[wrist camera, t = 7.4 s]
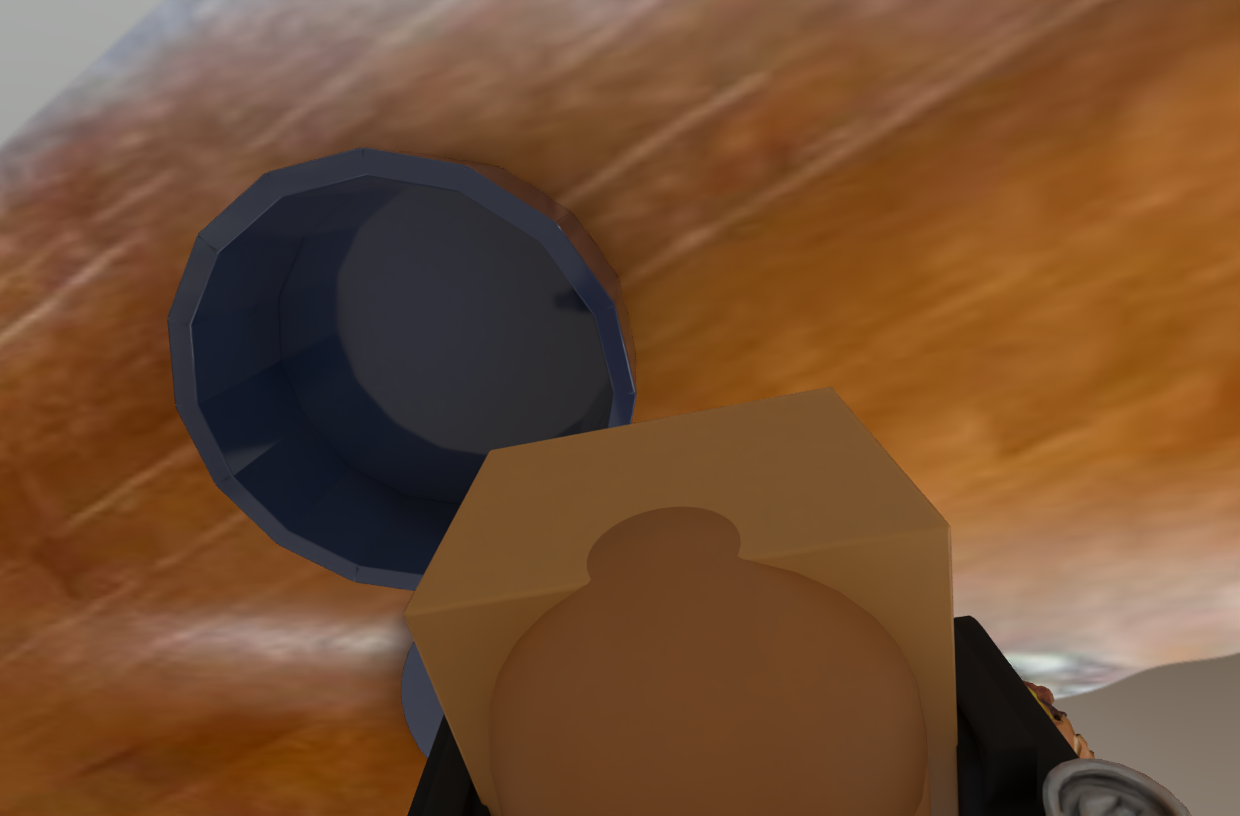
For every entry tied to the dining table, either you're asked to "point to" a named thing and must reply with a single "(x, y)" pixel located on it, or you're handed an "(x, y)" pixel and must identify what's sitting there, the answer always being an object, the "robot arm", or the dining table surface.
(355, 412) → the pot
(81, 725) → the dining table surface
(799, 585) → the bread
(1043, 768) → the robot arm
